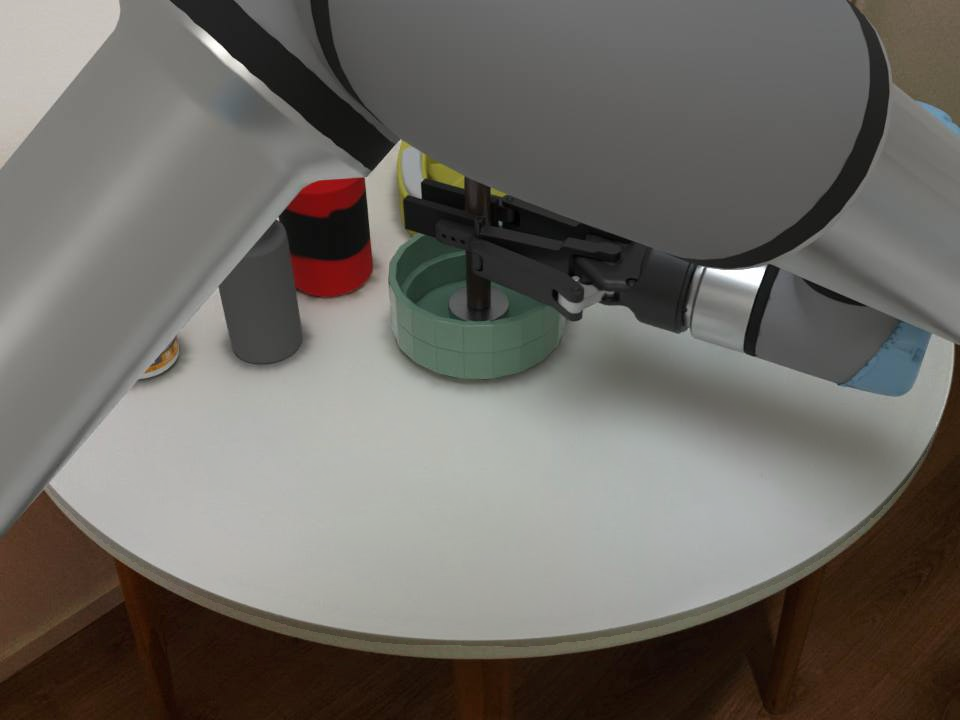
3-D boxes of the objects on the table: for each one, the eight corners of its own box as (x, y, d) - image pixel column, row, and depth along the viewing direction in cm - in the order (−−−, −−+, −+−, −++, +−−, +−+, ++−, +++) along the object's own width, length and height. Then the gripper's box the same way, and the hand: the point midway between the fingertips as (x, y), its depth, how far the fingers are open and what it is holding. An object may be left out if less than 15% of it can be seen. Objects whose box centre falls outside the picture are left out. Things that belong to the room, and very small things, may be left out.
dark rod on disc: (472, 348, 85) (469, 152, 73) (437, 317, 88) (428, 124, 76) (521, 325, 87) (525, 131, 75) (485, 295, 90) (484, 104, 78)
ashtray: (529, 134, 112) (530, 91, 109) (595, 242, 97) (598, 196, 94) (377, 155, 109) (373, 112, 106) (421, 271, 94) (418, 224, 91)
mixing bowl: (458, 410, 81) (457, 350, 77) (361, 316, 89) (355, 258, 85) (598, 338, 87) (603, 279, 83) (494, 257, 95) (494, 201, 92)
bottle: (309, 320, 89) (287, 165, 79) (293, 366, 84) (267, 209, 75) (242, 316, 89) (210, 162, 79) (222, 362, 85) (187, 205, 75)
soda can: (328, 310, 90) (312, 189, 82) (270, 275, 94) (249, 157, 86) (391, 269, 94) (381, 151, 86) (332, 238, 98) (318, 122, 90)
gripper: (659, 389, 72) (367, 293, 81) (726, 271, 82) (461, 197, 91) (671, 303, 67) (359, 210, 76) (741, 189, 77) (459, 118, 86)
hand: (415, 203), depth 83 cm, fingers closed on dark rod on disc, 2 cm apart
